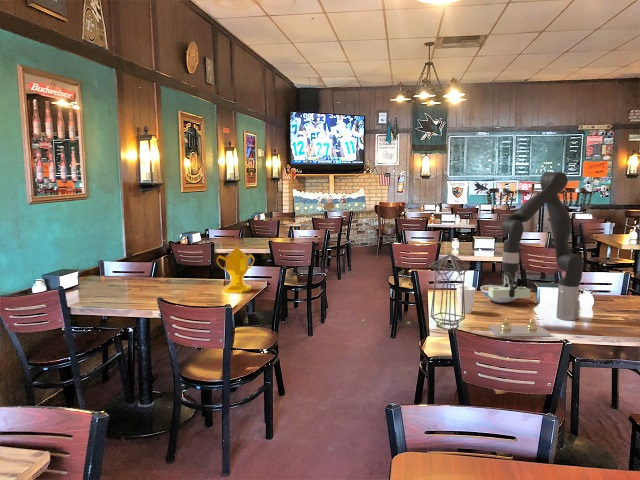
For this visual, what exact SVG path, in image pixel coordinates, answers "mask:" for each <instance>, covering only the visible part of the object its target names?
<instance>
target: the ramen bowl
mask: <svg viewBox="0 0 640 480" xmlns="http://www.w3.org/2000/svg"><path fill="white" fill-rule="evenodd" d="M486 284H487V285H481V286H480V291H481V292H482V294H483V297H486V299H488V300H490V301H492V302H494V303H497V304H506V303H510V302H513V301H516V299H518V298H492V297H490V296H489V295H488V289H489V287H504V285H503V284H502V285H501V284H495V283H494V284H492V283H490V284H489V283H487V282H486Z"/></svg>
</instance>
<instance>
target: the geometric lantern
mask: <svg viewBox="0 0 640 480" xmlns="http://www.w3.org/2000/svg"><path fill="white" fill-rule="evenodd" d="M449 259H450V261H451V263H448V261H449ZM459 261H460V262H461V263H462V264H461V263H460V262H459ZM443 264H444V265H443ZM428 266H429V267H430V268H432V270H433V271H435V272H434V281H433V282H434V283H433V284H434V285H433V291H432V292H433V293H432V300H431V308H430V318H432V320H434V322H435V323H436V324H435V325H436V326H435V327H436V328H440V329H445V330H448V328H446V327H441V326H440V324H441V325H446V326H449V327H450V328H451V329H452V327H453V328H454V326H455V327H457V328H458V327H460V326H459V325H460V324H459V323H461V322H462V321H464V320H465V319H466V314H465V303H464V286H465V285H464V284H465V276H466V275H465V274H466V272H468V270H469V268H471V267H472V265H470V264H468V263H467V262H465V261H463V260H462V259H461V258H459V257H457V256H455V255H454V254H451V253H450V254H449V253H448V254H447V255H446V256H443V257H442V258H441V257H440V258H439V259H437V260H436V261H434V262H432V263H430V264H428ZM443 266H444V267H443ZM446 266H448V267H449V268H446ZM441 269H443V271H442V272H443V273H442V272H441ZM446 270H447V271H446ZM463 270H464V271H463ZM445 271H446V272H445ZM454 272H456V273H458V275H457V277H455V279H450V278H451V277H452V275H453V274H454ZM448 273H450V275H449V276H447V274H448ZM439 275H440V276H441V278H442V279H439V280H437V278H438V277H439ZM443 276H445V277H446V278H444V277H443ZM462 276H463V277H462ZM458 278H459V279H460V280H458ZM462 278H463V280H462ZM441 281H443V282H441ZM445 281H446V283H445ZM451 281H454V282H453V283H452V282H451ZM456 282H459V283H456ZM436 283H437V284H442V290H441V300H440V301H441V302H440V309H439V310H440V311H439V313H436V314H434V312H435V299H436V298H435V297H436ZM455 283H456V284H455ZM445 285H446V291H445V292H446V294H445V297H446V298H445V312H442V309H443V299H444V287H445ZM457 285H459V286H460V285H461V286H462V313H461V315H460V314H456V286H457ZM452 286H453V306H454V309H453V310H454V311H453V312H454V313H451V306H452V304H451V303H452V299H451V298H452V297H451V296H452ZM448 288H449V289H448ZM448 290H449V302H448ZM448 303H449V304H448ZM448 305H449V306H448ZM447 306H448V307H449V308H448V307H447ZM463 307H464V313H463ZM447 308H448V309H449V311H448V309H447ZM447 311H448V312H447ZM443 314H444V317H443ZM437 315H440V316H441V318H439V317H435V316H437ZM447 315H448V319H447V318H446V317H447ZM451 316H454V320H452V319H451ZM456 317H460V318H459V319H457V318H456ZM437 320H438V321H437ZM446 323H447V324H446ZM451 324H452V325H451ZM450 328H449V329H450Z"/></svg>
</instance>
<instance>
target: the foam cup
mask: <svg viewBox="0 0 640 480" xmlns="http://www.w3.org/2000/svg"><path fill="white" fill-rule="evenodd" d="M456 294H457V305H458V313H460V314H462V285H459V286H456ZM475 294H476V287H473V286H469V285H464V303H465V315H469V314H471V313H472V310H473V305H474V300H475ZM463 314H464V307H463Z"/></svg>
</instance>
